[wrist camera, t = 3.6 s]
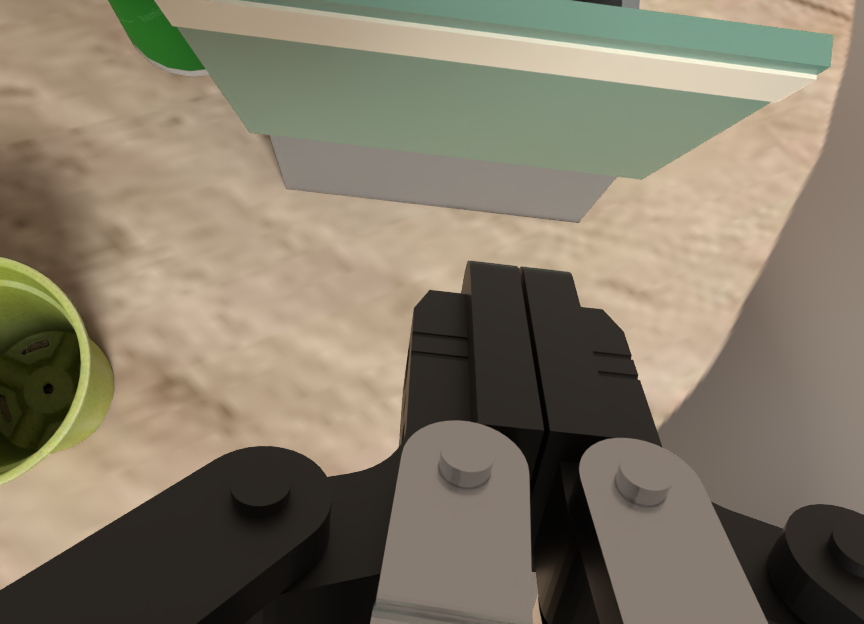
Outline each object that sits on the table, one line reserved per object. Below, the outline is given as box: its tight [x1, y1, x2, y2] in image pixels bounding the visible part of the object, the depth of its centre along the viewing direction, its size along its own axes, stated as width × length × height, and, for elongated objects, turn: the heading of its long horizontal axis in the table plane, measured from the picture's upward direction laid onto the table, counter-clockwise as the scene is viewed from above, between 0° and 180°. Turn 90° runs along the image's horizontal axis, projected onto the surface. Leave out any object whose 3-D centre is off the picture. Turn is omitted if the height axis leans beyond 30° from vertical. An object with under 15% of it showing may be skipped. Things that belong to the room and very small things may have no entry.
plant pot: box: [0, 257, 114, 485], centre depth 34 cm, size 9×9×9 cm
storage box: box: [270, 0, 640, 223], centre depth 39 cm, size 16×14×9 cm
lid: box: [154, 0, 833, 180], centre depth 26 cm, size 17×14×1 cm
